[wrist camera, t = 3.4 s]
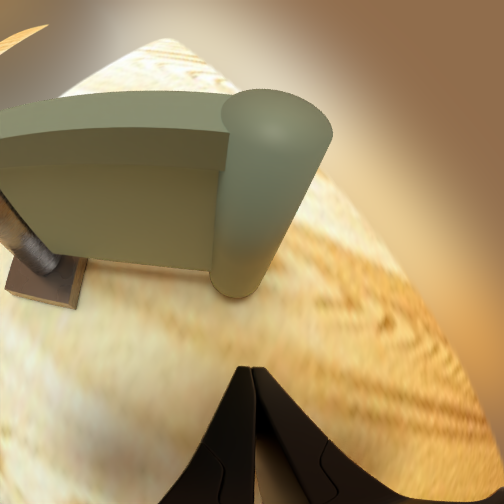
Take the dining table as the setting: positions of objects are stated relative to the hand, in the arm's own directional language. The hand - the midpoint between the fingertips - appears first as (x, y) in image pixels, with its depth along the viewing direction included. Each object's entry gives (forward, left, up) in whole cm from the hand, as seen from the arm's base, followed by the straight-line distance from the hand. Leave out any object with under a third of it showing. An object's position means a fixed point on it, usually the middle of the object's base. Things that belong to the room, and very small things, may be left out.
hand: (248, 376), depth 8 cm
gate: (+7, +2, -6) cm, 10 cm away
